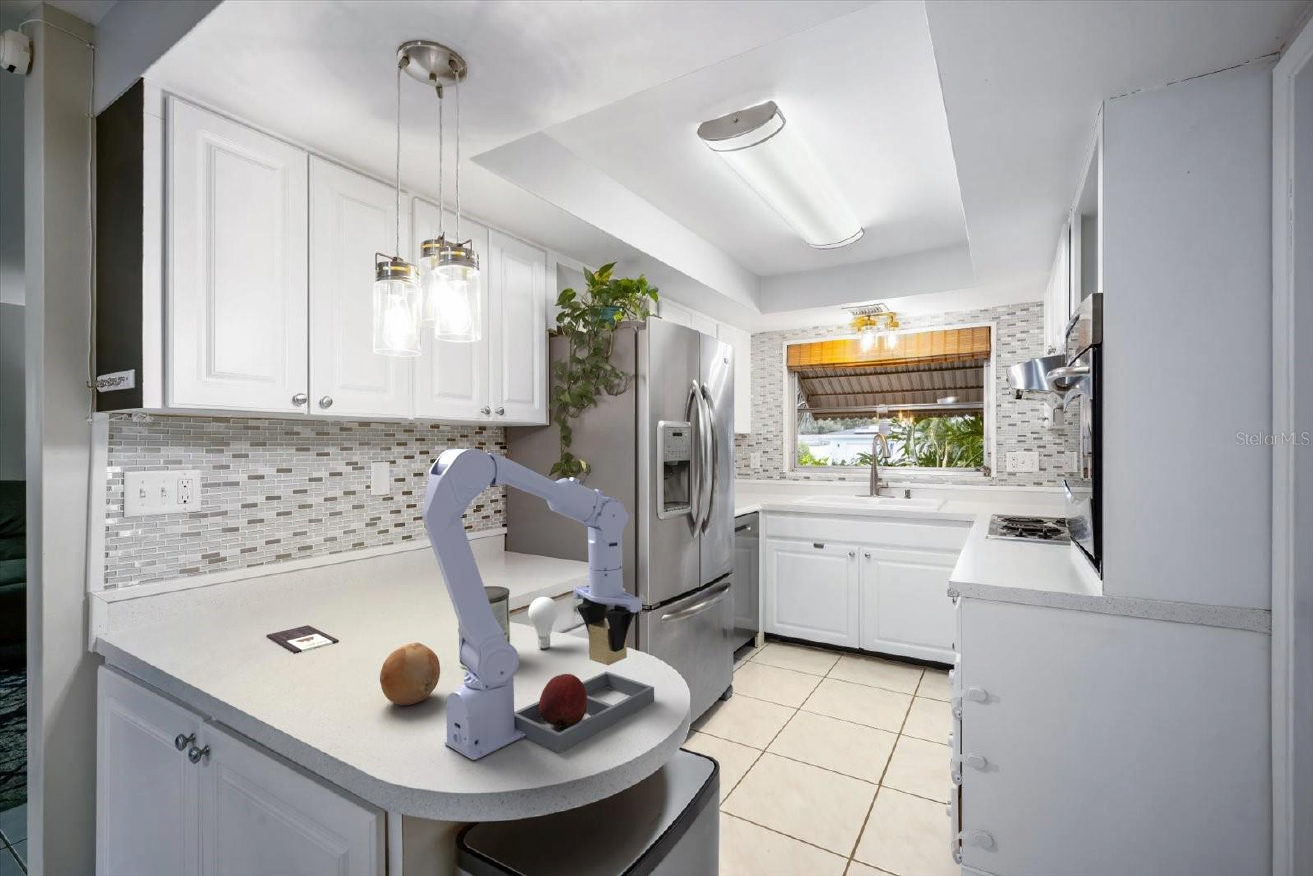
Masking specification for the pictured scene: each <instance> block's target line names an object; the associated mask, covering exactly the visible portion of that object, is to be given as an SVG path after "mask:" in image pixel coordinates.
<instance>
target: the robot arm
mask: <svg viewBox="0 0 1313 876" xmlns="http://www.w3.org/2000/svg"><path fill="white" fill-rule="evenodd" d="M580 481H581V480H580V479H578V478H576V477H569V478H567V477H563V478H560V479H558V480H556V481H555V480H552V479H550V478H548V477H545V476H544V475H542V474H539V473H537V472H535V471H533V470H531V469H530V468H527V467H525V466H524V465H522V464H519V463H517V462H515V461H513V460H511V459H509V458H508V457H507V458H506V457H503V456H501V455H497V454H493V453H488V452H486V451H484V450H482V449H478V448H468V449H467V448H466V449H463V448H456V447H454V448H450V449H447V450H445V451H443V452H442V453H441V454H440V455H439V456H438V457H437V459H436V460H435V462H434V463H433V464H432V466H431V467H430V468H429V470H428V483H427V486H426V492H425V495H424V500H423V504H422V508H421V517H422V520H423V521H422V522H423V524H424V528H425V530H426V532H427V536H428V538H429V541H430V544H431V547H432V550H433V553H434V556H435V558H436V561H437V565H438V566H439V567H438V568H439V570H440V572H441V576H442V578H443V582H444V584H445V587H446V590H447V593H448V595H449V596H448V597H449V598H450V602H451V604H452V607H453V611H454V613H455V615H456V618H457V619H456V620H457V623H458V622H459V624H458V628H457V632H458V637H459V636H460V649H459V648H458V650H459V651H458V656H459V655H460V658H461V661H462V662H463V663H464V664H465V665H466V666H467V669H466V670H465V674H464V678H463V683H462V685H461V686H459V687H458V688H457V689H456V690H454V691H452V692H451V693H450V694H448V697H447V700H446V702H445V703H446V704H445V705H446V706H445V709H446V714H445V715H446V739H445V740H444V742H443V743H444V745H446V746H447V747H449V748H451V749H452V750H454V751H456V752H457V753H459V754H461V755H463V756H465V757H467V758H469V760H472V761H476V760H478V759H481V758H483V757H485V756H486V755H489V754H491V753H493V752H495V751H497V750H499V749H501V748H502V747H505V746H508V745H509V744H511V743H513V742H515V741H517V740H519V739H521V738H525V737H524V736H525V733H524V732H522V731H520V730H518V729H516V728H515V718H514V712H515V689H514V688H515V684H514V682H515V681H514V677H515V674H516V673H517V670H518V667H519V664H520V657H519V656H520V655H519V653H518V650H517V648H515V646H514V645H513V644H511V642H510V643H509V642H508V641H507V639H506V637H505V634H504V632H503V630H502V628H501V627H500V625H499V623H498V622H497V620H496V618H495V617H494V615H493V612H492V609H491V606H490V603H489V600H488V597H487V594H486V591H485V588H484V582H483V579H482V577H481V574H480V571H479V568H478V567H479V566H478V564H477V562H476V558H475V557H474V553H473V550H472V548H471V544H470V542H469V538H468V535H467V532H466V530H465V527H464V523H463V520H462V518H463V515H465V513H466V511H467V509H468V507H469V506H470V504H471V503H472V501H473V500H474V499H476V498H477V497H478V496H479V495H480V494H482V493H483V492H484V491H485V490H486V489H487V488H488V487H489V486H495V487H497V486H503V485H508V486H510V487H513V488H515V489H519V490H520V491H523V492H526V493H528V494H531V495H533V496H536V497H539V498H541V499H544V500H546V503H547V506H548V507H549V509H550V511H552V512H555V513H557V514H560V515H561V516H564V517H567V518H568V519H571V520H574V521H576V522H579V523H581V524H583V525H584V526H585V527H587V540H588V541H587V542H588V544H587V545H588V584H589V585H588V586H584V585H580V586H576V587H573V589H572V590H573V593H572V597H573V600H582V602H581V603H580V604H577V606H576V607H577V608H576V610H577V611H578V612H579V614H580V616H581V618H582V619H583V622H584V624H585V627H586V629H587V630H586V631H587V634H588V635H589V624H591V623H594V622H597V621H600V620H602V619H605V617H606V618H607V620H608V623H609V627H610V633H611V645H612V650H613V651H614V652H617V651H620V650H622V649H624V644H625V640H626V641H627V635H628V631H629V628H630V625H631V623H632V620H633V619H634V618H635V617H634V616H635V615H636V613H638V612H639V611H642V610H643V598H641V597H638V596H635V595H633V594H631V593H628V592H626V591H627V590H626V588H624V583H623V581H624V579H623V577H624V576H623V533H624V528H625V527H626V525H627V523H628V521H629V512H628V513H627V511H626V508H625V506H624V505H623V503H622V501H621V500H619V499H617V498H616V497H615V498H614V497H608V496H604V495H603V491H602V490H600V489H597V488H595V489H594V490H593V489H591V488H589V487H587V486H584V485H582V484H580ZM607 606H609V607H613V608H611V609H609V610H607Z"/></svg>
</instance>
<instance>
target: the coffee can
mask: <svg viewBox="0 0 1313 876" xmlns="http://www.w3.org/2000/svg"><path fill="white" fill-rule="evenodd" d="M484 588H485V591H486V594H487V597H488V600H489V603H490V606H491V609H492V612H493V615H494V617H495V618H496V620H497V622H498V623H499V625H500V627H501V628H502V630H503V632H504V634H505V637H506V639H507V641H508V642H509V643H510V644H511V628H510V622H511V621H510V618H511V617H510V593H511V592H510V589H509V588H508V587H505V586H501V585H499V586H498V585H497V586H496V585H488V586H487V585H485V586H484ZM457 623H458V625H459V622H458V621H457ZM459 649H460V636H459V635H458V650H459ZM458 656H459V663H458V664H459V667H461V668H462V669H463V668H464V670H467V666H466V665H465V664H464V663H463V662H462V661H461V658H460V655H459V654H458Z"/></svg>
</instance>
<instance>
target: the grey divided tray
mask: <svg viewBox="0 0 1313 876" xmlns="http://www.w3.org/2000/svg"><path fill="white" fill-rule="evenodd" d="M581 682H582V683H583V684H584V686H585V689H586V693H587V709H586V713H585V714H588V715H591V716H590V717H587V718H585V719H582V720H581V721H580V722H579V723H577V724H575V725H573V726H571V727H567V728H565V729H564V730H562V731H560V732H559V731H556V730H555V729H552V728H549V727H547V726H545V725H543V724H541V723H538V722H536V721H537V720H540V719H542V718H541V715H540V712H539V701H540V700H539V701H536V702H534V703H532V704H529V705H527V706H524V707H523V708H521V709H518V710H516V711H514V718H515V728H516V729H518V730H520V731H522V732H524V733H525V736H524V737H523V738H526V739H529V740H531V741H533V742H535V743H536V744H538V745H541V746H543V747H545V748H547V749H549V750H551V751H552V752H555V753H556V754H561V753H563V752H565V751H567V750H569V749H570V748H572V747H574V746H575V745H577V744H579V743H581V742H583V741H585V740H587V739H588V737H589V738H591V737H592V736H593V735H594V736H595V735H596V734H598V733H600V732H602V731H603V730H605V729H607V728H608V727H611V726H613V725H614V724H616V723H618V722H619V721H621V720H623V719H625V718H627V717H629V716H631V715H633V714H635V713H637V712H638V711H640V710H642V709H644V708H646V707H647V706H650V705H651V704H653V703H655V686H651V685H649V684H645V683H642V682H640V681H637V680H634V679H630V678H627V677H625V676H622V675H619V674H615V673H612V672H610V671H604V672H602V673H599V674H598V675H595V676H593V677H591V678H588V679H586V680H583V681H581ZM606 688H607V689H611V690H613V691H616V692H619V693H622V694H624V695H627V696H629V697H627V698H624V699H623V700H621V701H619V702H617V703H615V704H610V703H608V702H605V701H603V700H600V699H599V698H595V697H593V696H591V695H593V694H596V693H598V692H600V691H602V690H604V689H606ZM597 732H598V733H597ZM586 738H587V739H586ZM571 746H572V747H571ZM562 751H563V752H562Z"/></svg>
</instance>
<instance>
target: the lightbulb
mask: <svg viewBox="0 0 1313 876" xmlns="http://www.w3.org/2000/svg"><path fill="white" fill-rule="evenodd" d="M527 612H528V614H527V615H528V618H529V619H528V620H529V621H530V622H531V624H532V625H533V626H534V629H535V632H536V635H537V646H538V648H540V649H542V650H546V649H547V648H550V647H551V634H552V629H553V627H554V624H555V623H556V620H558V619H557V618H558V616H559V606H558V604H557V602H556V601H555V600H554V599H552V598H551V597H548V596H539V597H537V598H536V599H534V600H532V602H531V603H530V605H529V608H528V610H527Z"/></svg>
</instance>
